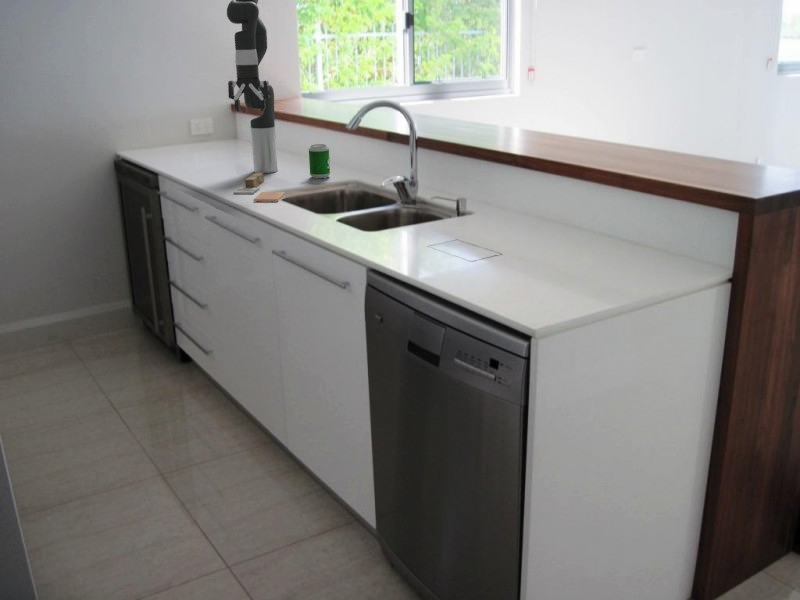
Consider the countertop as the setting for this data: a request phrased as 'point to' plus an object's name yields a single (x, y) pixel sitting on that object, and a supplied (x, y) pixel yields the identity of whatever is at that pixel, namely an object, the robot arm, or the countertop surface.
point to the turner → (251, 184)
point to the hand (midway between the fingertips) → (250, 111)
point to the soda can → (319, 161)
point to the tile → (270, 196)
